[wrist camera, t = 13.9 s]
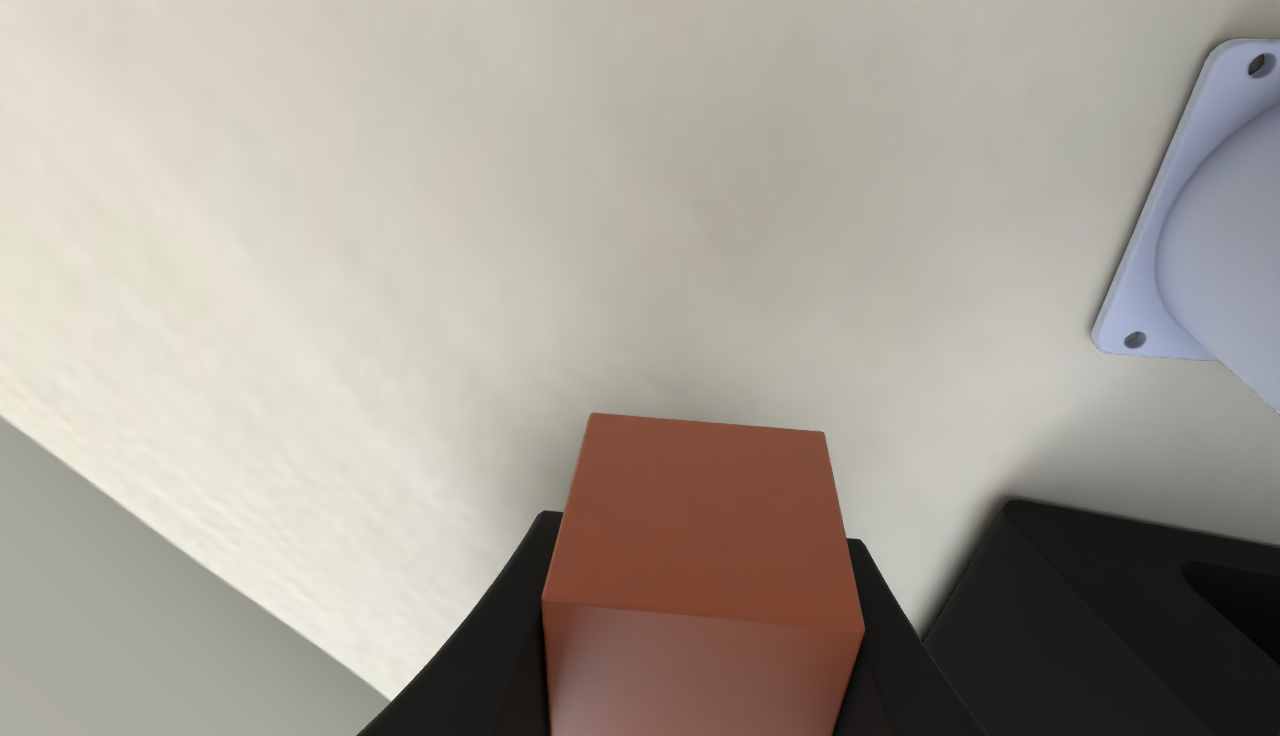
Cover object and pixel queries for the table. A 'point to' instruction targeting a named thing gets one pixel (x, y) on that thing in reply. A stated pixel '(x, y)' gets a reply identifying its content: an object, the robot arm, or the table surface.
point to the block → (699, 584)
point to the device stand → (1113, 629)
